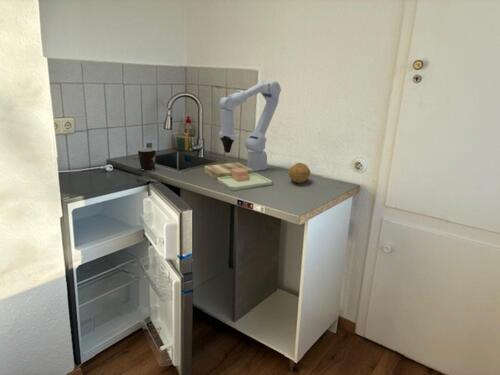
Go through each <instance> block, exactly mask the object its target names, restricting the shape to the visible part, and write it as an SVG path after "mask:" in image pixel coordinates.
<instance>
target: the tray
mask: <svg viewBox="0 0 500 375" xmlns="http://www.w3.org/2000/svg"><path fill="white" fill-rule="evenodd" d="M248 175H249V176H250V180H247V181H240V182H237V181H235V180H234V179H232V176H226V177H218V178H217V179H216V182H217V183H219V184H220V185H222V186H224V187H225V188H227V189H228V190H229V191H231V192H234V191H235V192H236V191H240V190H241V191H242V190H246V189H255V188H260V187H268V186H273V185H274V181H273V180H270V179H269V178H267V177H265V176H263V175H261V174H259V173H257V172H253V173H250V174H248Z"/></svg>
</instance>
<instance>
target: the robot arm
mask: <svg viewBox="0 0 500 375" xmlns="http://www.w3.org/2000/svg"><path fill="white" fill-rule="evenodd" d="M281 92H282V89H281V85H280V83H279V82H278V81H266V80H262V81H259V82H258V83H257V84H255V85H252V86H251V87H250V88H248V89H246V90H240V89H237V90H236V92H234V93H232V94H228V96H224V97H222V98H220V100H219V103H218V107H219V109H220V120H221V121H220V122H221V123H220V124H221V125H220V127H221V128H220V129H221V130H219V131H218V135H219V136H222V137H220V140H221V143H222V145H223V151H224V153H225V154H229V153H231V150H232V146H233V143H234V141H235V140H236V139H237V135H236V134H235V132H234V116H235V115H234V111H235V109H236V107H238V106H240V105H242V104H244V103H246V102H247V101H248V98H251V97H253V96H255V95H258V94H259V93H260V94H261V95H262V97H263V98H264V100H265V102H266V103H265V105H264V107H263V110H262V112H261V114H260V117H259V119H258V122H257V124H256V126H255V129H254V130H253V131H252V132H251V133H250V134H249V135H248V137H247V138H246V139H245V141H244V146H245V149H246V150H247V167H248V168H250V169H252V170H253V172H256V171H257V172H259V171H263V170H264V171H265V170H266V171H267V170H268V154H267V153H266V151H265V149H266V143H267V137H266V136H265V135H266V132H267V131H268V128H269V125H270V124H271V121H272V119H273V116H274V114H275V111H276V109H277V106H278V104H279V99H280V93H281Z"/></svg>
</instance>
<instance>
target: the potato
mask: <svg viewBox="0 0 500 375" xmlns="http://www.w3.org/2000/svg"><path fill="white" fill-rule="evenodd" d="M288 176H289V178H290V179H291V180H292V181H293V182H295V183H297V184H301V183H304V182H306V181H307V180H308V179H309V178H310V176H311V169H310V168H309V166H308V165H306V164H305V163H303V162H297V163H295V164H293V165H291V167H289V169H288Z"/></svg>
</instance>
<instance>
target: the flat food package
mask: <svg viewBox="0 0 500 375" xmlns="http://www.w3.org/2000/svg"><path fill="white" fill-rule="evenodd" d="M237 168H244V169H246V170H248V174H250V173H254V171H253V170H252V169H250V168H248V166H247V165H243V164H241V163H240V162H230V163H220V164H211V165H204V173H206V174H207V175H209V176H210V177H212V178H213V179H215V180H217V178H218V177H226V176H232V174H231V169H237Z"/></svg>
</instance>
